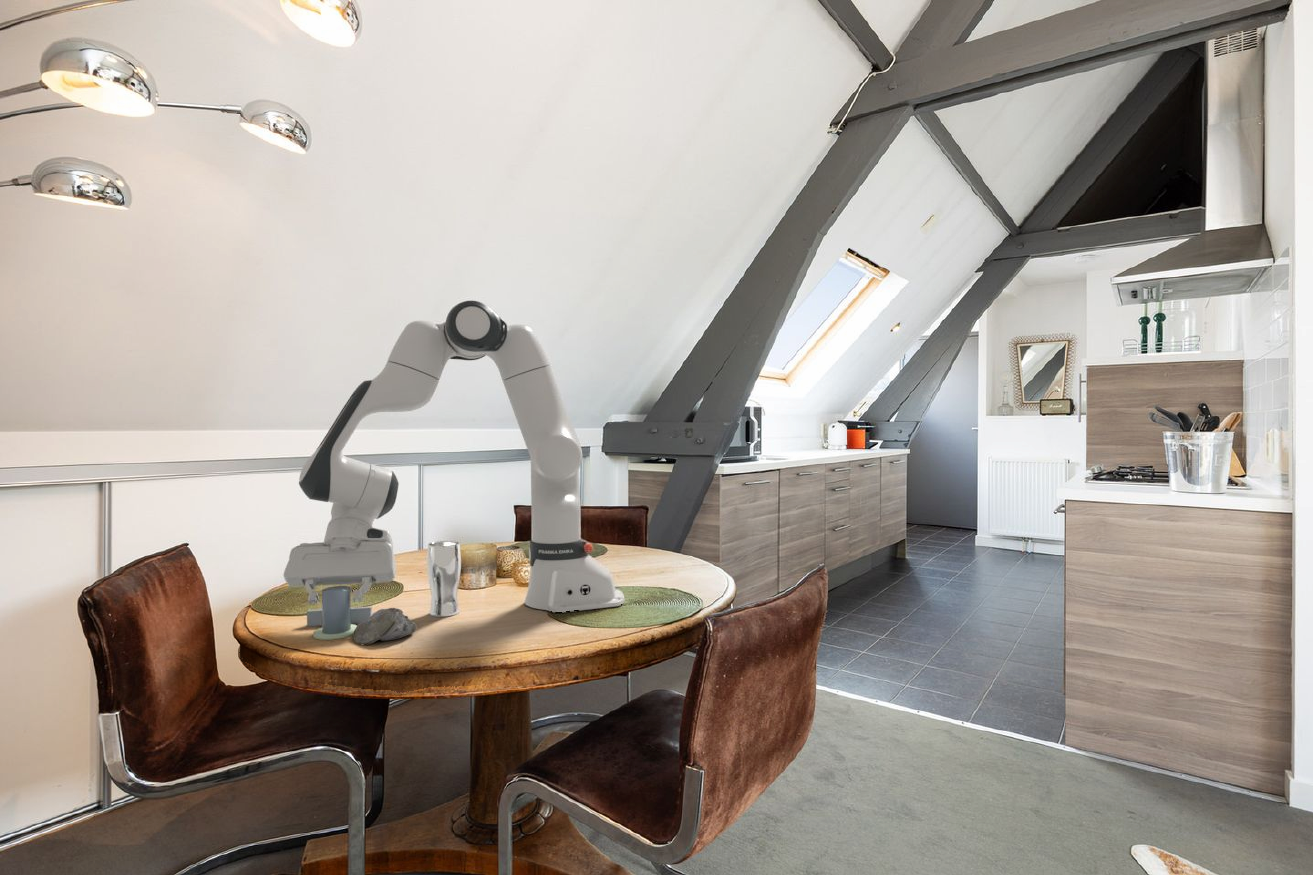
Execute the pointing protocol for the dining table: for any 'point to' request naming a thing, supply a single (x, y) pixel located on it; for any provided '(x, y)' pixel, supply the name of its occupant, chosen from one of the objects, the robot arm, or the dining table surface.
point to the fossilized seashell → (383, 626)
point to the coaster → (321, 636)
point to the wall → (356, 615)
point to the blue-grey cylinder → (336, 609)
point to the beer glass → (444, 577)
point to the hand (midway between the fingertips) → (335, 601)
